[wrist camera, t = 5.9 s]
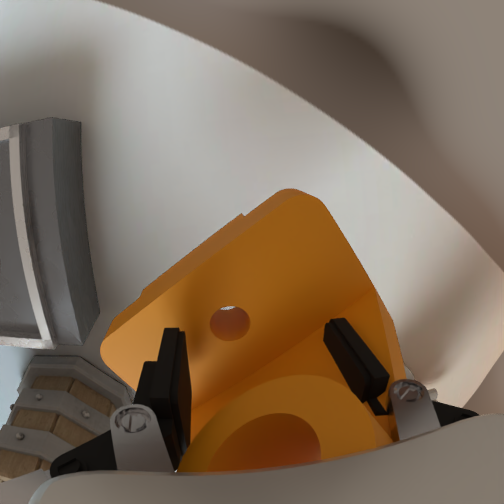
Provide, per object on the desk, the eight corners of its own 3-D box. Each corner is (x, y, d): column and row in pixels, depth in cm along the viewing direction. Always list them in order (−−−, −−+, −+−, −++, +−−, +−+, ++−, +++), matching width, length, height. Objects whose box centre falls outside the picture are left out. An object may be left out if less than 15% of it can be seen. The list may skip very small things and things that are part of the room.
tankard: (14, 397, 26) (-33, 495, 12) (47, 331, 24) (-26, 452, 10) (156, 476, 32) (154, 576, 18) (216, 432, 31) (231, 556, 16)
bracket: (290, 176, 13) (562, 287, 2) (367, 296, 16) (530, 467, 4) (106, 319, 14) (14, 552, 3) (202, 407, 17) (219, 612, 5)
